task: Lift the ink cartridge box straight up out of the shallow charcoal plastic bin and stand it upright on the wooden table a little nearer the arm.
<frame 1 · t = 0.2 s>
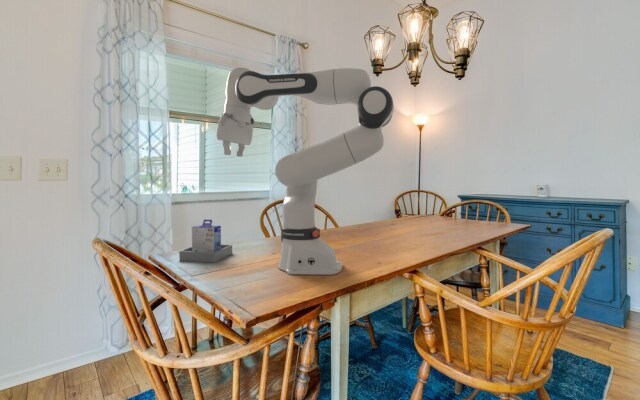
hand: (233, 155, 119), 39 cm above the table, tool pointing down, fingers open, 8 cm apart
ink cartridge box: (207, 257, 130), resting in bin
bin: (207, 256, 130), on the table
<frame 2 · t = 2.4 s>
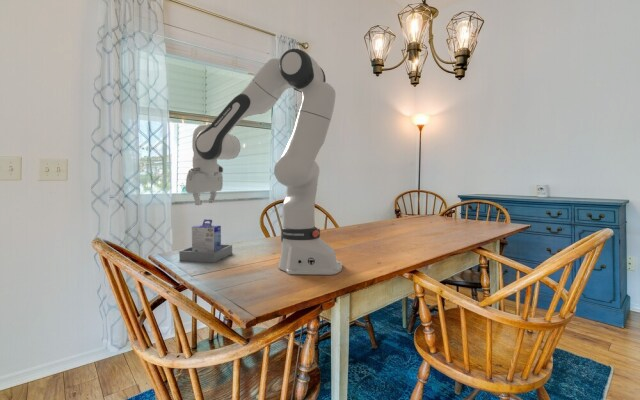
hand: (205, 204, 129), 21 cm above the table, tool pointing down, fingers open, 8 cm apart
nothing on the table moved.
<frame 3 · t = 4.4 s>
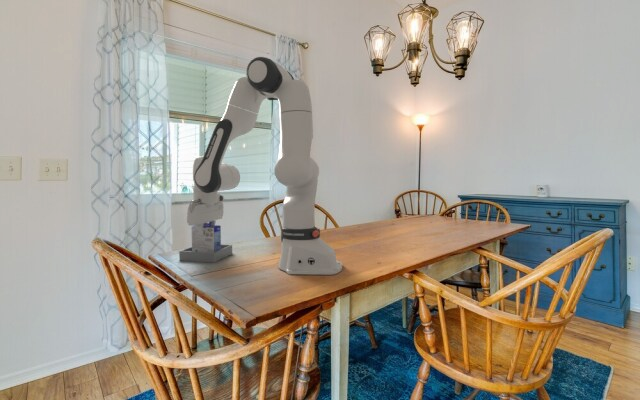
hand: (206, 233, 130), 9 cm above the table, tool pointing down, fingers closed on ink cartridge box, 5 cm apart
ink cartridge box: (207, 257, 130), resting in bin, touching gripper
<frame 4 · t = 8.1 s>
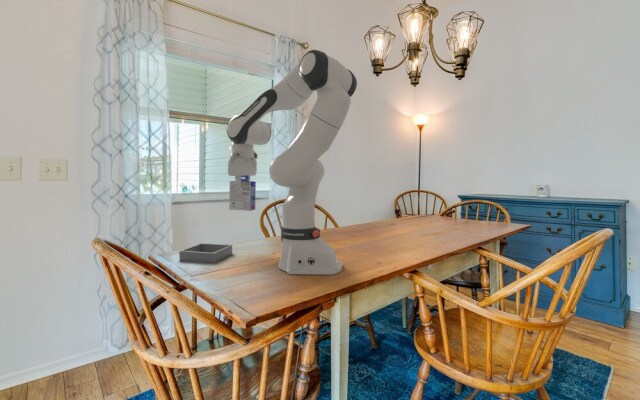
hand: (243, 186, 141), 27 cm above the table, tool pointing down, fingers closed on ink cartridge box, 5 cm apart
ink cartridge box: (242, 210, 142), point 17 cm above the table, touching gripper
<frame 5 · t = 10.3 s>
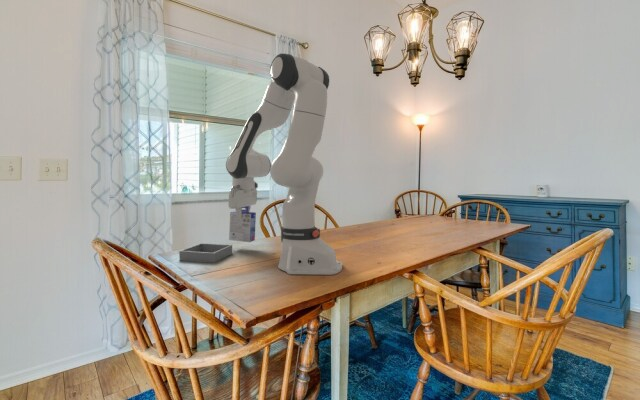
hand: (243, 217, 142), 14 cm above the table, tool pointing down, fingers closed on ink cartridge box, 5 cm apart
ink cartridge box: (242, 240, 143), point 4 cm above the table, touching gripper
when the fingers open (11 cm above the table, at t = 11.9 s): ink cartridge box stays where it is, on the table.
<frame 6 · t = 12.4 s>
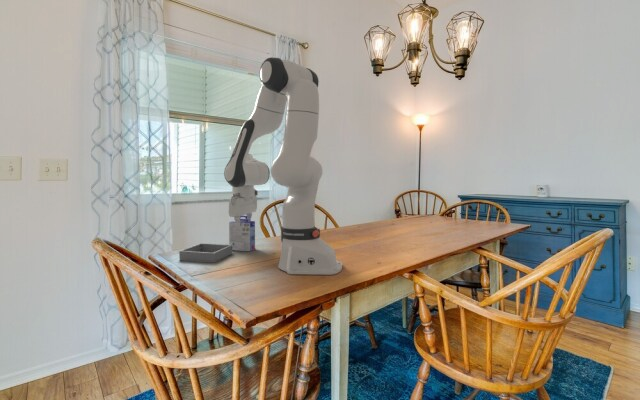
hand: (243, 224, 142), 11 cm above the table, tool pointing down, fingers open, 8 cm apart
ink cartridge box: (242, 250, 143), on the table
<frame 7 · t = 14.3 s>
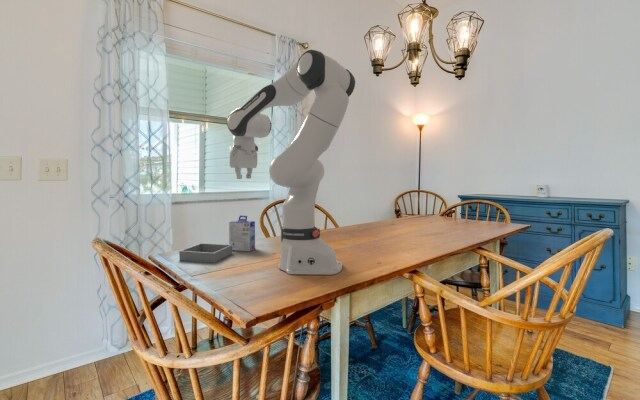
hand: (244, 178, 144), 30 cm above the table, tool pointing down, fingers open, 8 cm apart
nothing on the table moved.
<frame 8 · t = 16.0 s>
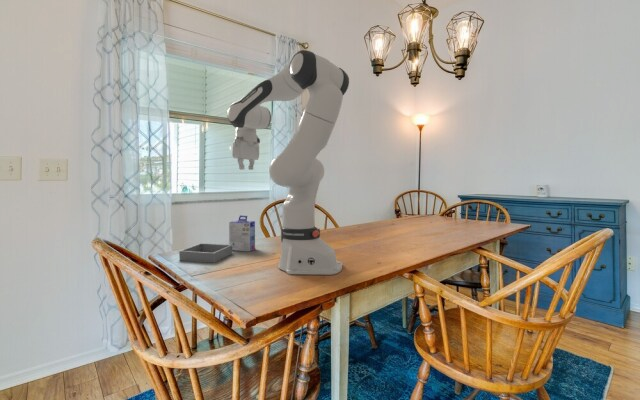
hand: (246, 169, 149), 34 cm above the table, tool pointing down, fingers open, 8 cm apart
nothing on the table moved.
at the end: ink cartridge box inside the target area (0.6 cm from its centre), on the table; ink cartridge box tilted 0°; the gripper is holding nothing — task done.
